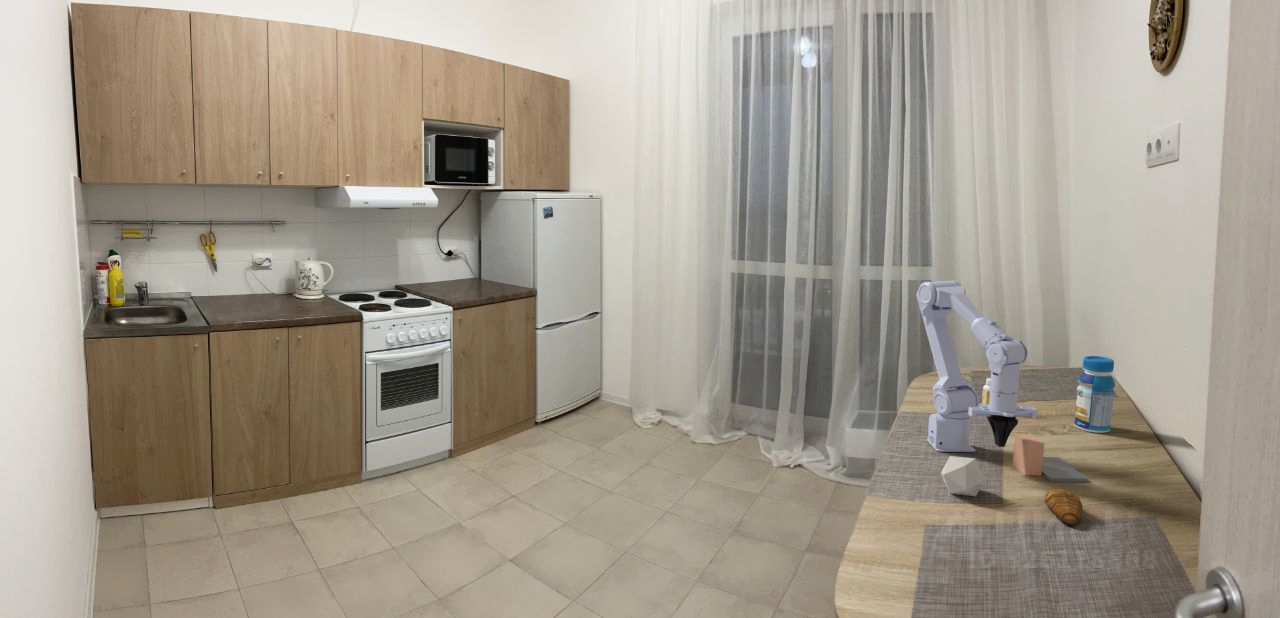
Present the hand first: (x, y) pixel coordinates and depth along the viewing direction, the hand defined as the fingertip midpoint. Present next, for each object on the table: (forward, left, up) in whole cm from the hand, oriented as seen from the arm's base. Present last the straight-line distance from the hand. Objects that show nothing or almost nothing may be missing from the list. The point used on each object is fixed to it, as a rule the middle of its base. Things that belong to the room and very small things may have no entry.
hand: (999, 445), depth 147 cm
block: (+6, 0, -6) cm, 9 cm away
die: (-13, -12, -6) cm, 19 cm away
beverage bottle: (+37, +28, -6) cm, 47 cm away
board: (+13, 0, -6) cm, 14 cm away
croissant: (+4, -20, -7) cm, 21 cm away
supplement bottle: (+17, +43, -6) cm, 47 cm away
